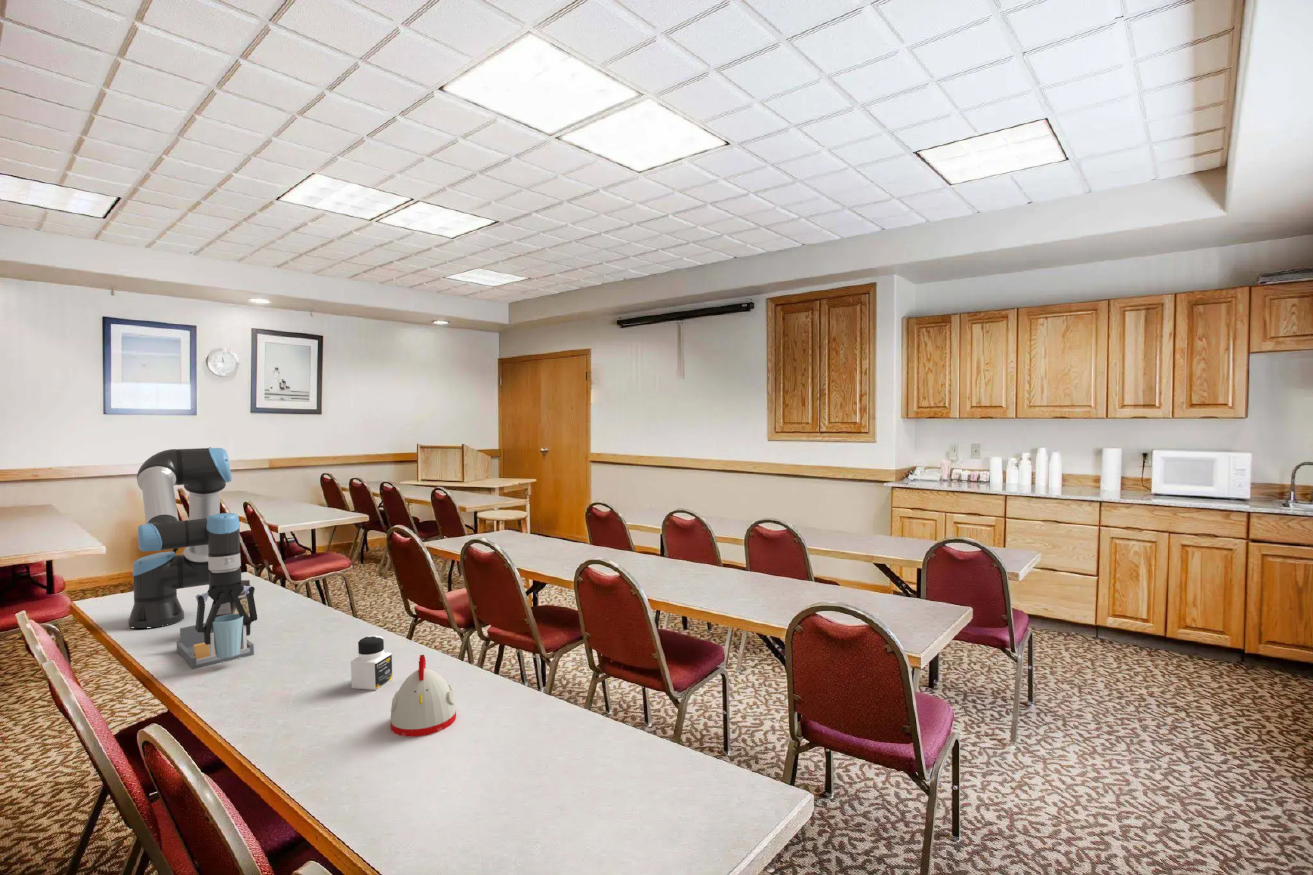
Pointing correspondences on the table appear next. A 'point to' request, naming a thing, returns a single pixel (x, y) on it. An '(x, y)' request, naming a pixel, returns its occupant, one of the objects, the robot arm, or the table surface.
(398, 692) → the kitchen timer
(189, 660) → the grey open rectangular box
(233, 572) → the robot arm
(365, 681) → the medicine bottle
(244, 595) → the coffee box
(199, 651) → the pusher
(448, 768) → the table surface
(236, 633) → the cup
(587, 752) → the table surface
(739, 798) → the table surface
